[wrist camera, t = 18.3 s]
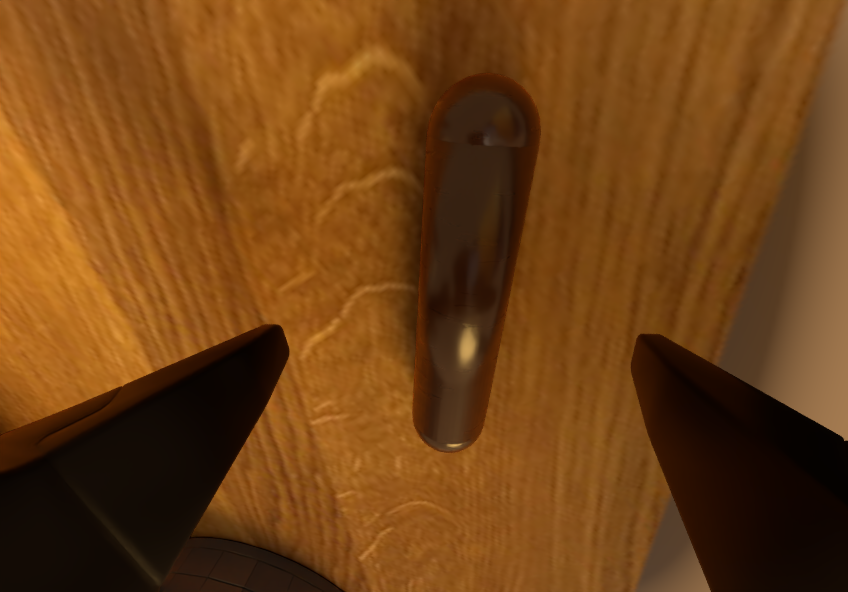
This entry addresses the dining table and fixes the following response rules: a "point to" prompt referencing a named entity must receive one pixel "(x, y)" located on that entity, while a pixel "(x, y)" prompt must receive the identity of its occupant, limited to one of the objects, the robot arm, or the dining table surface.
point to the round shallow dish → (238, 570)
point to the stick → (469, 249)
